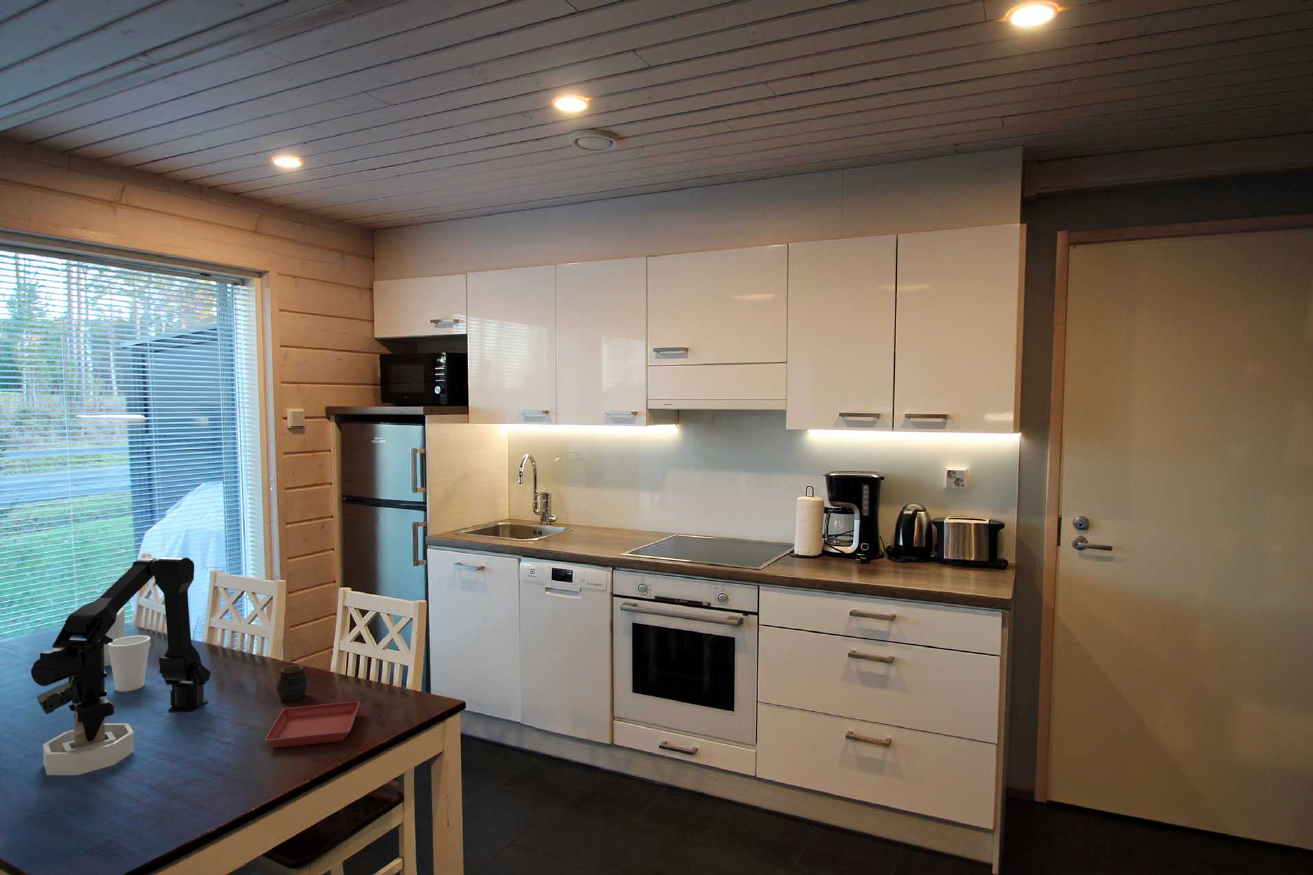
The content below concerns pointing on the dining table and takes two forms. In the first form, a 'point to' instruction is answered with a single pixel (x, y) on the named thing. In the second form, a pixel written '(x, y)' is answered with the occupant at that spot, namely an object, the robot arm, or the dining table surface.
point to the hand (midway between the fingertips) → (89, 738)
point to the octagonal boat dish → (88, 751)
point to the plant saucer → (312, 724)
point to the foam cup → (129, 661)
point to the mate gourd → (292, 683)
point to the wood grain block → (81, 736)
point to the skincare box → (115, 633)
